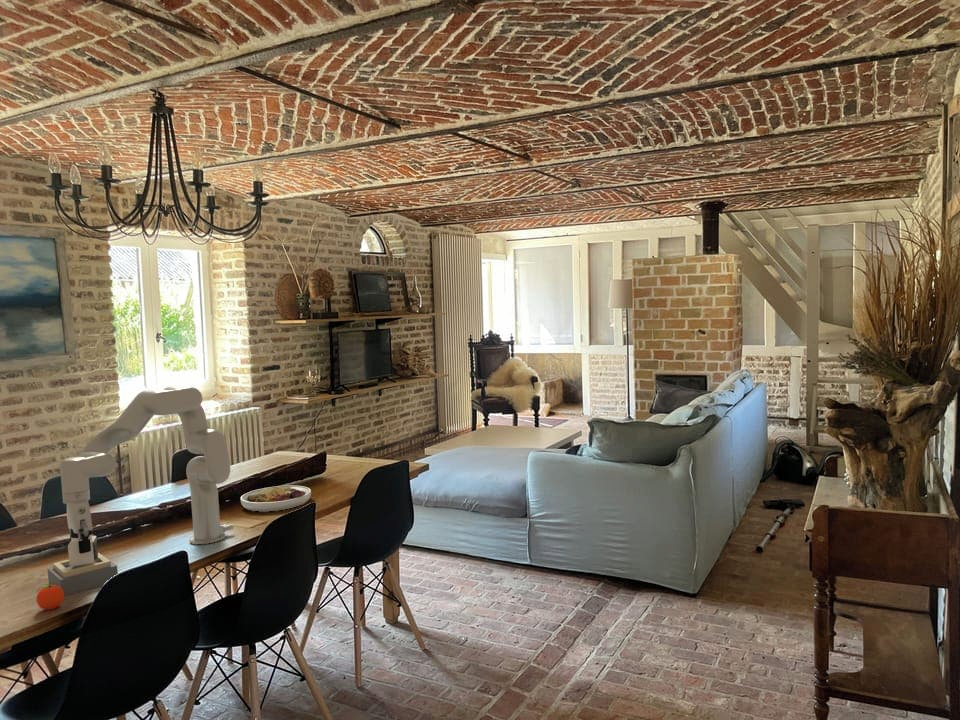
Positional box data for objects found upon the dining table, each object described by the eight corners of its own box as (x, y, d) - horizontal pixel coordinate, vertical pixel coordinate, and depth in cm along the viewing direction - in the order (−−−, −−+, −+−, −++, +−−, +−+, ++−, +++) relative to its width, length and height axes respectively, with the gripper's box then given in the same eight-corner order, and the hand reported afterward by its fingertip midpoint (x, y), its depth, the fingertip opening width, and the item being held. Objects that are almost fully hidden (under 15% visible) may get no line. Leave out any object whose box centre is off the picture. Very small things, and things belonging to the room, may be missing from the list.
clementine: (28, 613, 202) (26, 589, 202) (46, 603, 209) (44, 580, 209) (52, 614, 201) (50, 589, 200) (70, 604, 208) (68, 580, 207)
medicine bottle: (95, 563, 223) (91, 526, 222) (69, 567, 221) (66, 529, 220) (98, 556, 230) (95, 520, 229) (73, 560, 227) (70, 523, 227)
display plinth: (103, 569, 237) (101, 550, 236) (118, 580, 225) (116, 560, 225) (48, 583, 226) (47, 563, 225) (61, 596, 214) (60, 575, 214)
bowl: (226, 510, 306) (224, 493, 305) (275, 493, 332) (274, 477, 332) (278, 517, 292) (277, 498, 292) (325, 498, 319) (324, 481, 318)
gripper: (97, 498, 220) (101, 551, 221) (81, 489, 233) (85, 540, 234) (70, 503, 215) (75, 558, 216) (55, 494, 227) (60, 546, 228)
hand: (80, 549), depth 225 cm, fingers closed on medicine bottle, 9 cm apart
